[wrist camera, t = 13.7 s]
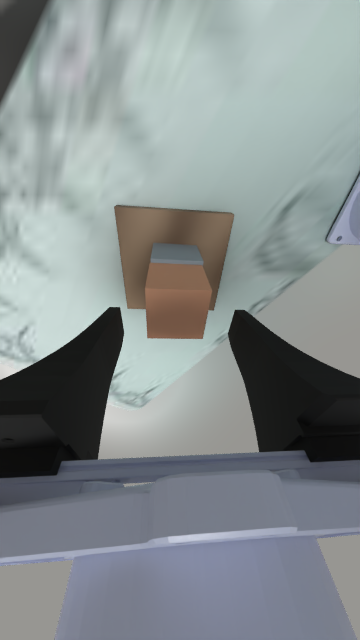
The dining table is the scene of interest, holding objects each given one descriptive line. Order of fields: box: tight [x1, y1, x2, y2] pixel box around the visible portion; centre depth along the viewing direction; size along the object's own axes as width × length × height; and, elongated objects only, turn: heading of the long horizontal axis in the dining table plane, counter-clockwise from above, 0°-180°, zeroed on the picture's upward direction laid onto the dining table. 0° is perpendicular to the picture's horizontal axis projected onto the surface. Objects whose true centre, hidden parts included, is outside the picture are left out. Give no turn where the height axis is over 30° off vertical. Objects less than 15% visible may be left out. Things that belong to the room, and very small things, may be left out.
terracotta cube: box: [145, 263, 212, 339], centre depth 14 cm, size 4×4×4 cm
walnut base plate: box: [114, 205, 234, 310], centre depth 19 cm, size 10×10×1 cm
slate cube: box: [151, 243, 204, 266], centre depth 17 cm, size 4×4×4 cm
